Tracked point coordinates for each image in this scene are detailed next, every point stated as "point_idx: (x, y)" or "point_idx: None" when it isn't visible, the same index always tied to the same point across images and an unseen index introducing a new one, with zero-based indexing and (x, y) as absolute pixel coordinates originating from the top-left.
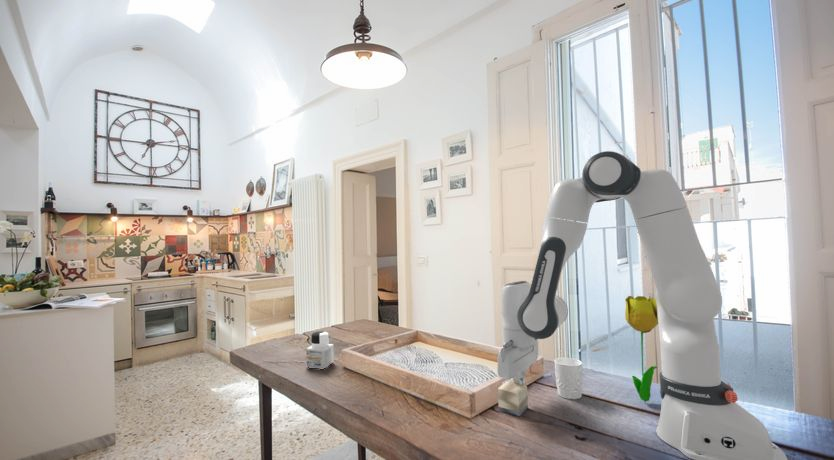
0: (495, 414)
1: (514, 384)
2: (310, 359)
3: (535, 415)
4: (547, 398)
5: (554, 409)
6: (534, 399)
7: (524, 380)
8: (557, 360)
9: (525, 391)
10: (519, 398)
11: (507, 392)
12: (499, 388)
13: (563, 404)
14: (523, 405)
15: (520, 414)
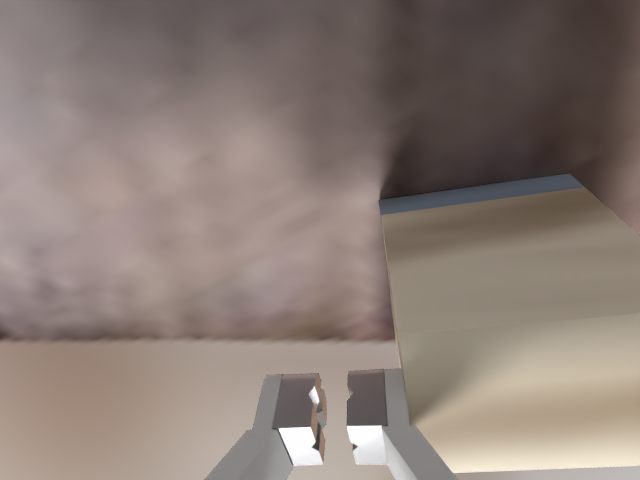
0: None
1: (447, 420)
2: None
3: (478, 79)
4: (108, 177)
5: (231, 11)
6: (211, 234)
7: (272, 402)
8: None
9: (446, 292)
10: (631, 260)
11: None
12: (628, 458)
13: (63, 4)
14: (484, 213)
15: (544, 178)
